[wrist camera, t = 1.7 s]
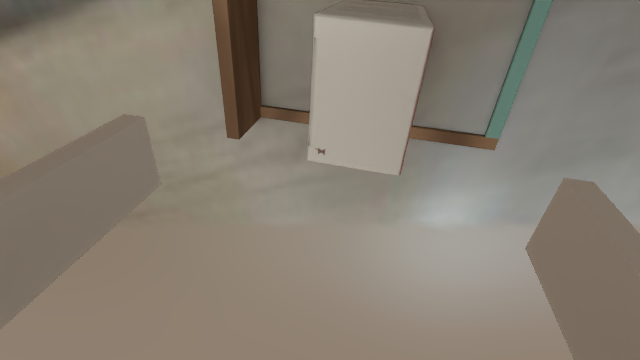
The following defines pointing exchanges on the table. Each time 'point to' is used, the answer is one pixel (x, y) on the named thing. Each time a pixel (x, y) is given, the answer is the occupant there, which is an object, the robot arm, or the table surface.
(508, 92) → the bay
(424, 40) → the small box
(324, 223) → the table surface
